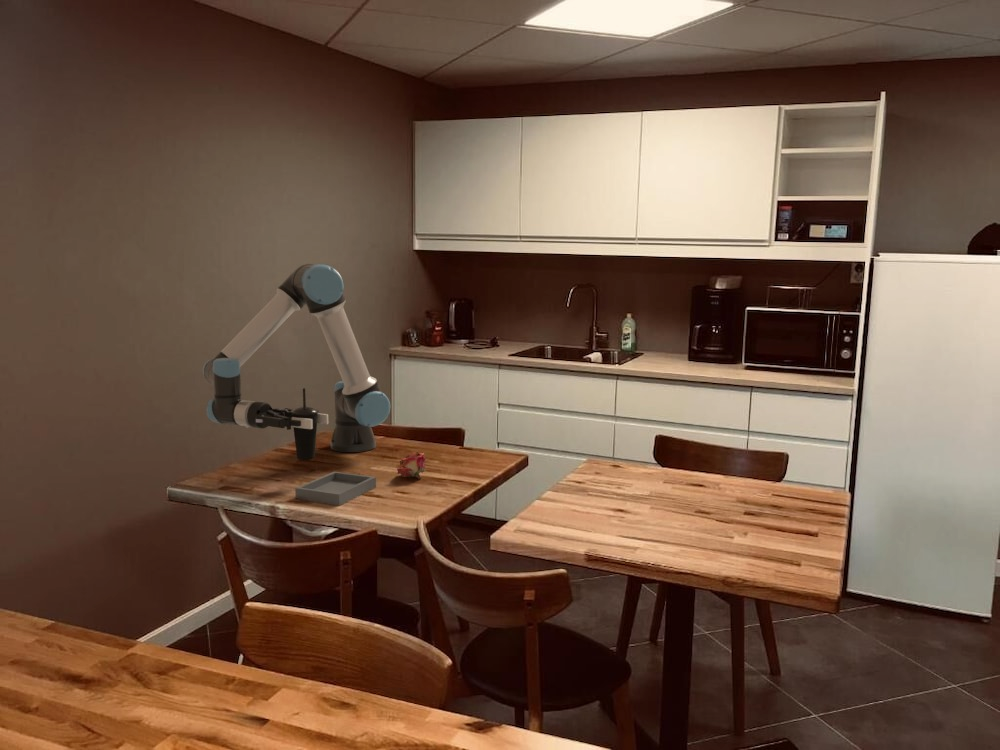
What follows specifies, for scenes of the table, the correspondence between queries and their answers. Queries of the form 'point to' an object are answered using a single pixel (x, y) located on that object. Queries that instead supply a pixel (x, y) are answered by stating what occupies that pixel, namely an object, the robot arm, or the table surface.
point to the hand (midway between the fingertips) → (319, 421)
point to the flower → (412, 465)
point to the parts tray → (335, 488)
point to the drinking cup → (305, 431)
